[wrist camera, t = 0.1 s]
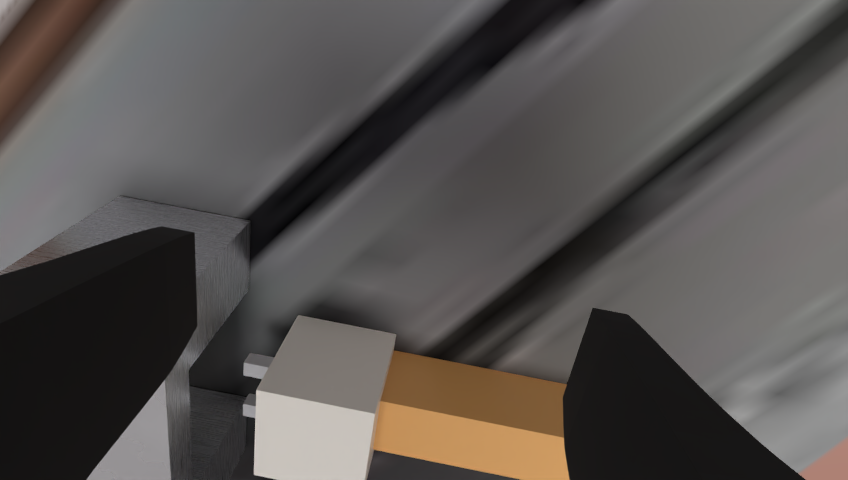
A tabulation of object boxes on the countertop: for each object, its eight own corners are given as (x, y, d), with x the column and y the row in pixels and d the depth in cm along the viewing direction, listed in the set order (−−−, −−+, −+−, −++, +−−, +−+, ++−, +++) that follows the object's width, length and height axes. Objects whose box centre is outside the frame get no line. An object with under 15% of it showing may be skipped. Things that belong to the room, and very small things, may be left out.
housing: (246, 447, 27) (177, 580, 21) (140, 425, 27) (44, 552, 21) (250, 220, 21) (160, 316, 16) (119, 195, 22) (-16, 281, 16)
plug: (664, 465, 24) (696, 566, 20) (265, 385, 25) (221, 468, 21) (698, 393, 23) (741, 487, 19) (268, 309, 23) (220, 382, 19)
